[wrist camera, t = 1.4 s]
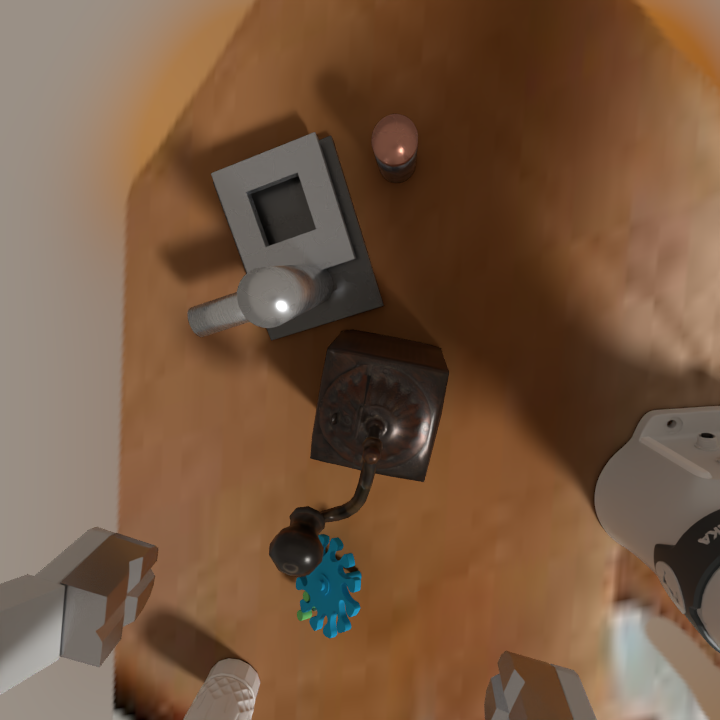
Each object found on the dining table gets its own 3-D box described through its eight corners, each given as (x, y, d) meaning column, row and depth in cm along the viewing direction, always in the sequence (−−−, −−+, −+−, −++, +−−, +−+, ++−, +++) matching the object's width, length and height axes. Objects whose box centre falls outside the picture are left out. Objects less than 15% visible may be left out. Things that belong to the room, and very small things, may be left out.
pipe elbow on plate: (332, 137, 39) (287, 68, 25) (383, 304, 42) (370, 329, 28) (180, 197, 42) (61, 166, 27) (239, 349, 45) (159, 392, 31)
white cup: (263, 657, 54) (232, 744, 45) (265, 705, 56) (236, 798, 47) (205, 650, 55) (161, 733, 46) (209, 697, 57) (168, 787, 47)
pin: (409, 137, 38) (410, 106, 31) (420, 175, 39) (423, 154, 31) (374, 150, 39) (365, 124, 31) (384, 188, 39) (379, 171, 32)
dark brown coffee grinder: (335, 325, 43) (285, 371, 26) (443, 345, 42) (467, 407, 25) (314, 461, 47) (258, 582, 30) (412, 482, 46) (415, 618, 29)
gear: (324, 516, 47) (366, 608, 40) (362, 512, 51) (405, 595, 44) (277, 571, 51) (307, 662, 45) (315, 563, 55) (348, 646, 49)
